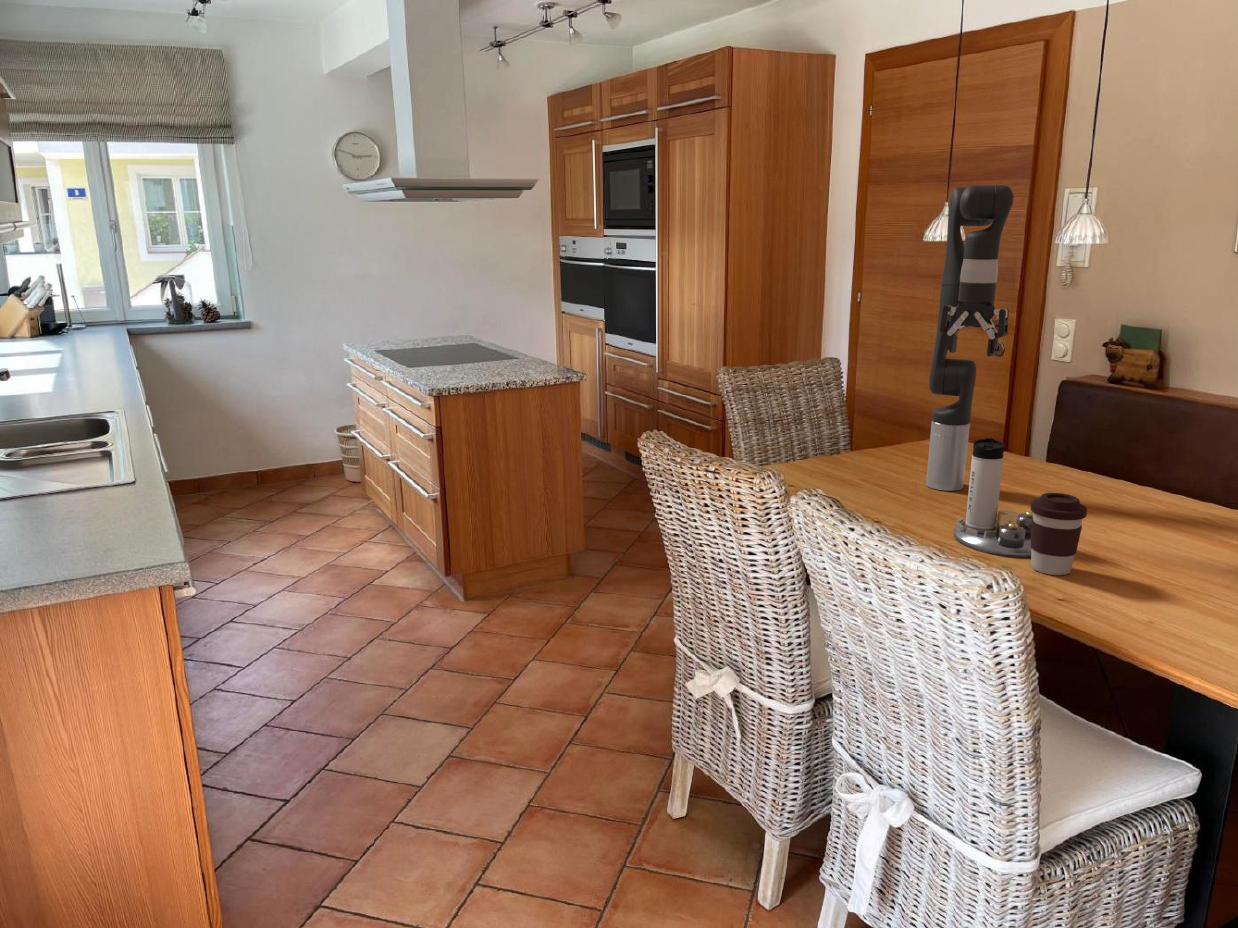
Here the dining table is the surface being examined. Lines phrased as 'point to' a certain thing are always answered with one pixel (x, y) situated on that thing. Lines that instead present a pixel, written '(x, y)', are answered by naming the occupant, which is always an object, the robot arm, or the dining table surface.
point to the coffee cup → (1055, 532)
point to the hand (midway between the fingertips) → (970, 354)
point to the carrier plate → (992, 544)
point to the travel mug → (984, 485)
